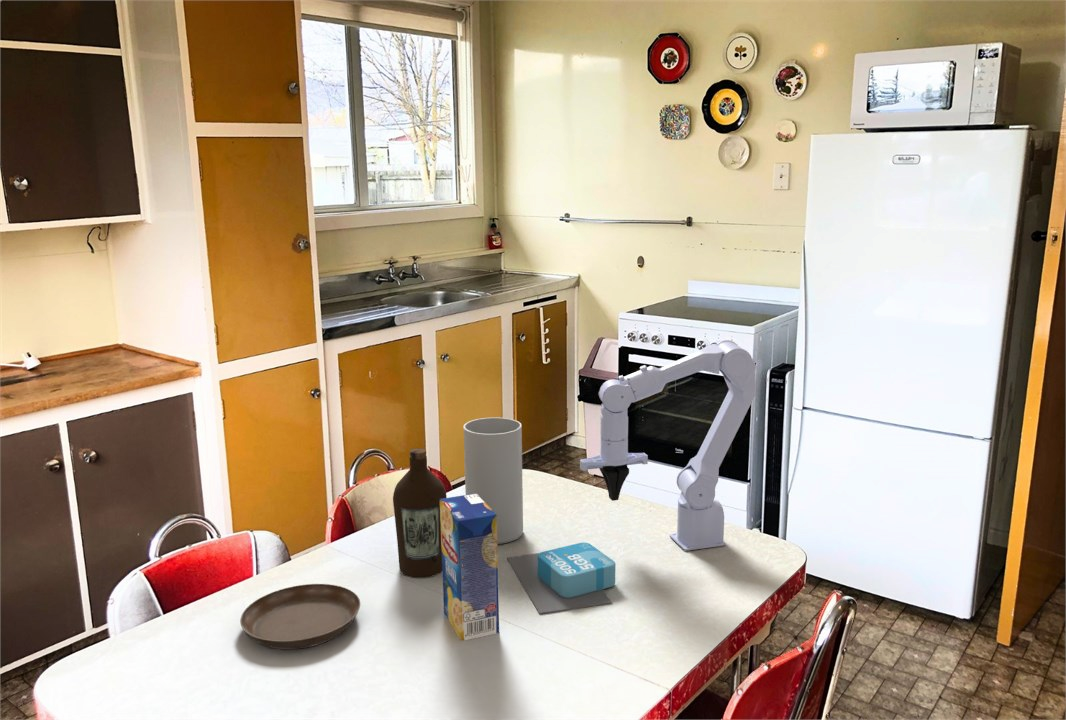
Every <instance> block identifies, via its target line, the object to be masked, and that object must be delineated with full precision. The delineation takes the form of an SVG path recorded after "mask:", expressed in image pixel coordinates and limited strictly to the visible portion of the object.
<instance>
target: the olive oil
mask: <svg viewBox="0 0 1066 720" xmlns="http://www.w3.org/2000/svg"><path fill="white" fill-rule="evenodd" d="M409 455H410V456H409V457H408V458H409V470H408V471H407V472H406V473H405V474H404V475H403V477H402V478H400V480H399V481H398V482H397V484H396V485H395V487H394V491H393V493H392V495H393V496H392V504H393V513H394V521H395V522H394V523H395V531H396V532H395V534H396V543H397V544H396V545H397V553H398V566H399V571H400V573H401V574H402V575H404V576H406V577H409V578H415V579H425V578H430V577H431V578H432V577H434V576H437V575H439V574H440V573H442V549H441V522H440V499H443V498H448V497H447V492H446V488H445V486H444V484H443V482H442V480H441V479H440V478H439V477H437V475H435V473H433V472H432V471H431V470H430V469H429V468H428V459H427V450H426V449H424V448H413V449H411V450H409Z"/></svg>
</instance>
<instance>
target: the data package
mask: <svg viewBox="0 0 1066 720" xmlns="http://www.w3.org/2000/svg"><path fill="white" fill-rule="evenodd" d="M538 553H539V554H538V577H539V578H541V579H542V580H543V581H544V582H545V583H546V584H547V585H549V586H550V587H551V588H552V589H553V590H554V591H556V592H557V593H558V594H559V595H560V596H562V597H564V598H572V597H576V596H579V595H583V594H587V593H590V592H594V591H598V590H602V589H603V590H604V589H608V588H609V589H610V588H611V587H614V586H615V585H616V562H615V560H613V559H611V558H610V557H609V556H608V555H606V554H605V553H604V552H602V551H600V550H599V549H597V548H596V547H595V546H593V545H592V544H591V543H589V542H579V543H575V544H569V545H565V546H562V547H556V548H553V549H550V550H549V549H548V550H543V551H541V552H538Z"/></svg>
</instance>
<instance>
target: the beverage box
mask: <svg viewBox="0 0 1066 720" xmlns="http://www.w3.org/2000/svg"><path fill="white" fill-rule="evenodd" d="M440 522H441V549H442V572H441V573H442V596H443V598H442V599H443V600H442V601H443V613H444V615H445V616H446V618H447V619H448V621H449V623H450V625H451V626H452V628H453V629H454V632H456V634H457V636H458V637H459V639H460V641H461V642H464V641H469V640H473V639H477V638H482V637H486V636H490V635H491V636H492V635H496V634H499V633H500V611H499V607H500V601H499V569H498V568H499V566H498V565H499V564H498V562H499V557H498V544H497V515H496V514H495V513H494V511H493V510H492V509H491V508H490V507H489V506H488V505H487V504H486V503H485V502H484V501H483V500H482V499H481V498H480V497H479V496H478V495H477V494H476V493H475V494H468V495H466V494H462V495H457V496H449V497H447V498H443V499H440Z"/></svg>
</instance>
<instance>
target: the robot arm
mask: <svg viewBox="0 0 1066 720" xmlns="http://www.w3.org/2000/svg"><path fill="white" fill-rule="evenodd" d="M756 369H757V365H756V363H755V360H754V358H753V357H752V356H751V354H750V352H748V351H747V350H745V349H743V348H742V347H740V346H739V345H738V344H737V343H736V342H734V341H732V340H729V339H728V340H727V339H725V340H721V341H719V342H717V343H712V344H708V345H706V346H705V347H703V348H701V349H699V350H697V351H694V352H692V353H690V354H687V355H686V356H684V357H681V358H680V359H677V360H674V361H672V362H671V363H668V364H667V365H664V366H662V367H656V366H653V365H649V366H647V365H645V364H644V365H641V366H640V367H639V370H637V371H635V372H632V373H630V374H627V375H625V376H623V374H622V375H619V376H618V379H608V380H606V381H605V382H603V383H602V384H601V386H600V388H599V391H598V393H597V394H598V396H599V397H598V398H599V399H600V401H601V402H602V403H601V409H600V413H601V415H600V451H599V452H600V454H599V455H595V456H592V457H591V456H590V457H588V458H582V459H580V460H579V469H580V470H581V471H582V472H586V471H588V470H595V469H599V471H600V473H601V475H602V477H603V480H604V482H605V486H606V489H607V492H608V498H609V499H610V500H611V501H612V502H614V501H615V502H616V501H619V499H620V498H619V497H620V494H621V490H622V487H623V485H624V483H625V481H626V479H627V478H628V476H629V474H630V468H629V467H628V466H632V465H639V464H640V465H648V464H649V461H648V460H649V457H648V456H649V455H648V454H646V453H645V452H629V438H628V437H629V416H628V408H629V407H630V406H631V404H632V403H636V402H638V401H641V400H643V399H646V398H649V397H651V396H653V395H655V394H659V393H660V392H661V393H662V391H663V390H664V388H665V386H666V384H668V383H670V382H674V381H677V380H679V379H682V378H685V377H688V376H691V375H694V374H696V373H699V372H707V373H710V374H711V373H712V374H716V375H720V373H721V374H722V376H723V378H724V381H725V383H726V386H727V388H728V390H727V393H726V396H725V397H724V399H723V402H722V404H721V405H720V408H719V409H718V412H717V413H716V416H715V417H714V419H713V422H712V423H711V426H710V428H709V429H708V431H707V434H706V435H705V438H704V440H703V442H702V444H701V446H700V448H699V450H698V451H697V454H696V455H695V456H694V457H692V458H690V459H689V461H688V463H687V464H686V466H685V467H684V468H682V469H681V470H680V471H679V473H678V474H677V476H676V485H677V487H678V489H679V490H680V491H681V492H680V494H679V497H678V499H677V520H676V521H677V527H676V530H677V531H676V533H670V534H669V537H670V538H671V539H672V540H673V541H674V542H675V543H676V544H677V545H678V546H679V547H680V548H681V549H683V551H694V550H701V549H708V548H717V547H722V546H725V545H726V543H725V541H724V538H725V537H724V534H725V512H724V508H723V505H722V504H721V502H720V501H719V500H717V499H715V496H716V488H717V484H718V483H719V474H720V473H719V472H720V471H719V470H720V469H719V468H720V467H721V465H722V463H723V461H724V458H725V456H726V454H727V452H728V451H729V448H730V446H731V445H732V442H733V441H734V439H735V437H736V434H737V432H738V431H739V428H740V427H741V424H742V423H743V421H744V419H745V416H746V415H747V413H748V410H749V408H750V406H751V404H752V403H753V400H754V399H755V397H756V394H757V382H756Z"/></svg>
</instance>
